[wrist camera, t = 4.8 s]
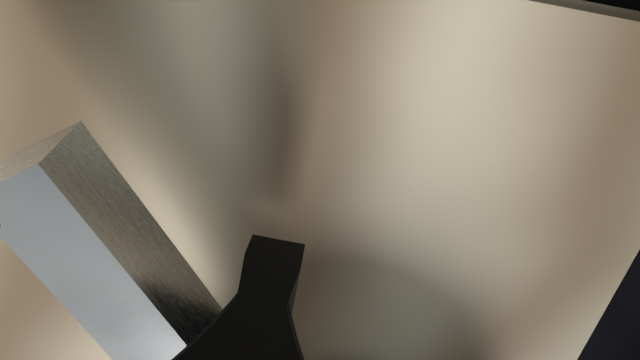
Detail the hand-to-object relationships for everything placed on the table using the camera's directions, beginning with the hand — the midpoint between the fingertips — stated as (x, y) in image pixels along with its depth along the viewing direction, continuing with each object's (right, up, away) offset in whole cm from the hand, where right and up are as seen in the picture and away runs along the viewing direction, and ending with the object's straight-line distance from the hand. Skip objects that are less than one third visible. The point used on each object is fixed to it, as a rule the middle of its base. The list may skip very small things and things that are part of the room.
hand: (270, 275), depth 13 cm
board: (-2, -6, +7) cm, 9 cm away
